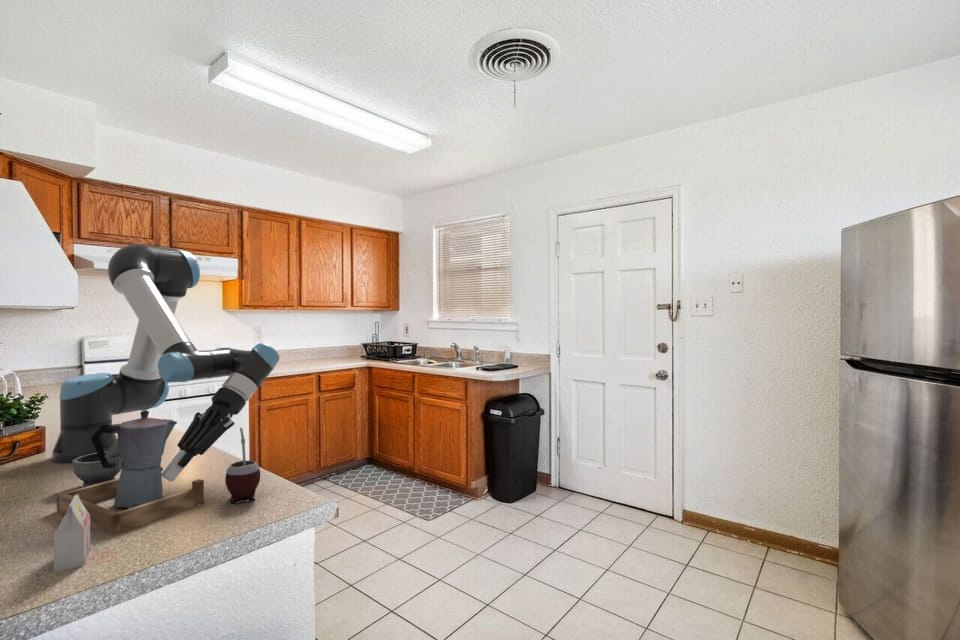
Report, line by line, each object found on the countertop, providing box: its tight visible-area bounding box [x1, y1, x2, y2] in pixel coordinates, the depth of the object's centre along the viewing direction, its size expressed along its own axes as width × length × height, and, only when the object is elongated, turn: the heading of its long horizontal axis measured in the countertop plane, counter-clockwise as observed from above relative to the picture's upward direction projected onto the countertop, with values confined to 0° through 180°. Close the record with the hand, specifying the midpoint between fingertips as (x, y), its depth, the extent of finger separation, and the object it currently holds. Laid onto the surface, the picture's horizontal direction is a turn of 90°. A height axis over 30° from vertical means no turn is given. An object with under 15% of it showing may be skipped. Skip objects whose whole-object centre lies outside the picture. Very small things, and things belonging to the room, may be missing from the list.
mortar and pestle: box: [71, 438, 122, 488], centre depth 114 cm, size 11×9×12 cm
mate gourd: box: [224, 427, 261, 505], centre depth 106 cm, size 8×8×15 cm
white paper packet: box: [53, 495, 91, 573], centre depth 79 cm, size 4×7×10 cm, turn 33°
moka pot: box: [91, 410, 178, 509], centre depth 103 cm, size 10×15×20 cm, turn 142°
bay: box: [56, 477, 205, 536], centre depth 101 cm, size 17×23×5 cm
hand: (166, 478), depth 107 cm, fingers closed
